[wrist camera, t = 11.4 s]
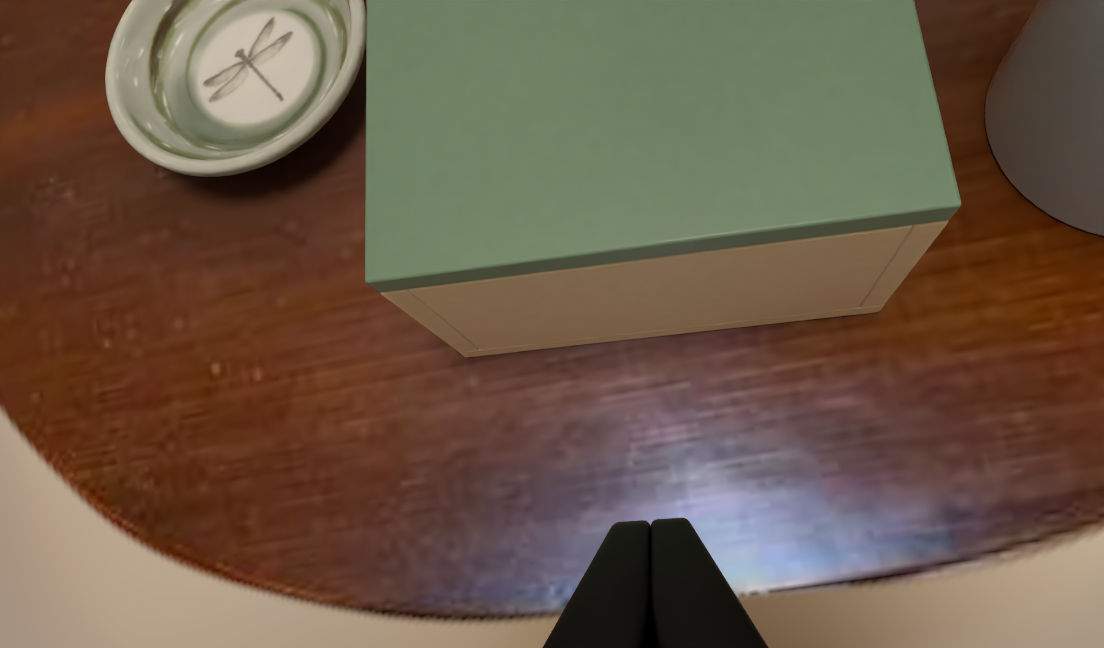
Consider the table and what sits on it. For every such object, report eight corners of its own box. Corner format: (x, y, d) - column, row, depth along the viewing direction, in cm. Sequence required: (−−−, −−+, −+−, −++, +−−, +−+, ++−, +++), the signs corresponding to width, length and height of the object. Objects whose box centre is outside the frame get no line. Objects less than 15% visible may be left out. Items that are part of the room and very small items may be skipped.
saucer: (277, 250, 26) (236, 222, 24) (103, 126, 29) (52, 91, 27) (442, 33, 27) (417, -13, 25) (258, -66, 30) (221, -115, 28)
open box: (456, 95, 27) (378, -42, 20) (826, 33, 25) (867, -141, 18) (465, 358, 24) (379, 294, 18) (879, 312, 22) (950, 222, 16)
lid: (378, -66, 21) (366, -90, 20) (862, -167, 19) (869, -197, 18) (378, 294, 18) (363, 282, 17) (950, 221, 16) (963, 205, 15)
